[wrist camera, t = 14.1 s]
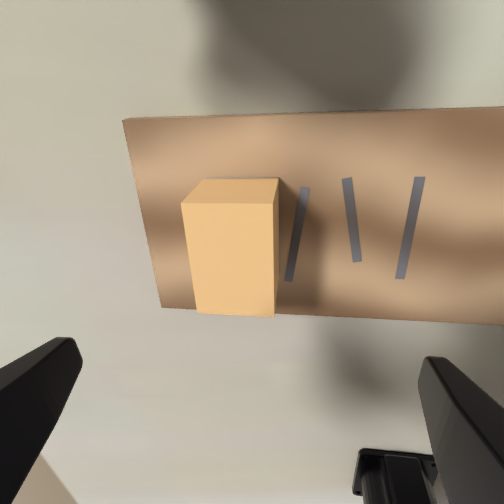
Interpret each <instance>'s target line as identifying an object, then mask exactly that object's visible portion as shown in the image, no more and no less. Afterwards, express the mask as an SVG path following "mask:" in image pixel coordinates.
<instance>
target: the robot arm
mask: <svg viewBox="0 0 504 504" xmlns="http://www.w3.org/2000/svg"><path fill="white" fill-rule="evenodd" d="M82 364H83V360H82V356H81V354H80V352H79V349H78V347H77V344H76V342H75V340H74V339H73V338H71V337H56V338H54V339H52V340H51V341H49V342H47V343H45V344H43V345H42V346H40V347H38V348H36V349H34V350H33V351H31V352H29V353H27V354H26V355H24V356H22V357H20V358H18V359H17V360H15V361H13V362H11V363H9V364H8V365H6V366H4V367H2V368H1V369H0V504H12V502H13V500H14V498H15V496H16V495H17V493H18V491H19V489H20V488H21V486H22V484H23V482H24V481H25V479H26V477H27V475H28V473H29V472H30V470H31V468H32V466H33V464H34V462H35V461H36V459H37V457H38V456H39V454H40V452H41V450H42V449H43V447H44V445H45V443H46V441H47V440H48V438H49V436H50V434H51V433H52V431H53V429H54V427H55V425H56V423H57V421H58V419H59V417H60V415H61V413H62V411H63V408H64V406H65V404H66V402H67V400H68V397H69V395H70V393H71V391H72V388H73V386H74V384H75V382H76V380H77V377H78V375H79V373H80V371H81V368H82ZM418 389H419V394H420V398H421V403H422V407H423V412H424V416H425V421H426V425H427V430H428V434H429V439H430V443H431V448H432V452H433V456H434V457H433V456H424V455H414V454H404V453H395V452H385V451H375V450H366V449H363V450H360V451H359V452H358V458H357V463H356V469H355V474H354V480H353V485H352V491H353V494H355V495H358V496H363V501H364V504H437V501H436V498H435V495H434V492H433V488H432V487H433V484H434V482H435V479H436V477H437V474H438V472H439V475H440V478H441V481H442V484H443V487H444V490H445V493H446V496H447V499H448V502H449V504H504V408H503V407H502V406H501V405H500V404H498V403H497V402H496V401H495V400H494V399H493V398H492V397H490V396H489V395H488V394H487V393H486V392H485V391H483V390H482V389H481V388H480V387H479V386H478V385H477V384H475V383H474V382H473V381H472V380H471V379H470V378H468V377H467V376H466V375H465V374H464V373H463V372H461V371H460V370H459V369H458V368H457V367H456V366H455V365H453V364H452V363H451V362H450V361H449V360H447V359H446V358H444V357H433V356H428V357H425V359H424V361H423V364H422V368H421V372H420V376H419V380H418Z"/></svg>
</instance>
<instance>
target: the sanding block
mask: <svg viewBox="0 0 504 504" xmlns="http://www.w3.org/2000/svg"><path fill="white" fill-rule="evenodd" d="M181 209H182V216H183V222H184V229H185V236H186V242H187V249H188V255H189V262H190V269H191V275H192V282H193V288H194V295H195V302H196V308H197V313H205V314H224V315H243V316H262V317H274V315H275V307H276V298H277V289H278V281H279V177H223V178H204V179H203V180H202V181H201V182H200V183H199V184H198V185H197V186H196V187H195V188H194V189H193V190H192V191H191V193H190V194H189V195H188V196H187V197H186V198H185V199H184V200H183V201H182V202H181Z"/></svg>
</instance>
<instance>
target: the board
mask: <svg viewBox="0 0 504 504" xmlns="http://www.w3.org/2000/svg"><path fill="white" fill-rule="evenodd" d="M122 122H123V127H124V132H125V137H126V141H127V146H128V151H129V156H130V160H131V165H132V170H133V174H134V179H135V184H136V189H137V193H138V198H139V203H140V207H141V212H142V217H143V222H144V226H145V231H146V236H147V241H148V245H149V250H150V255H151V259H152V264H153V269H154V274H155V278H156V283H157V288H158V292H159V297H160V302H161V307H162V308H179V309H197V308H196V302H195V295H194V288H193V282H192V275H191V269H190V262H189V255H188V249H187V242H186V236H185V229H184V222H183V216H182V209H181V202H182V201H183V200H184V199H185V198H186V197H187V196H188V195H189V194H190V193H191V191H192V190H193V189H194V188H195V187H196V186H197V185H198V184H199V183H200V182H201V181H202V180H203V179H204V178H223V177H279V281H278V289H277V298H276V307H275V313H276V314H296V315H315V316H334V317H354V318H373V319H393V320H412V321H432V322H451V323H470V324H490V325H504V106H503V107H470V108H437V109H405V110H372V111H340V112H307V113H274V114H242V115H209V116H177V117H144V118H129V119H125V120H122Z"/></svg>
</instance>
